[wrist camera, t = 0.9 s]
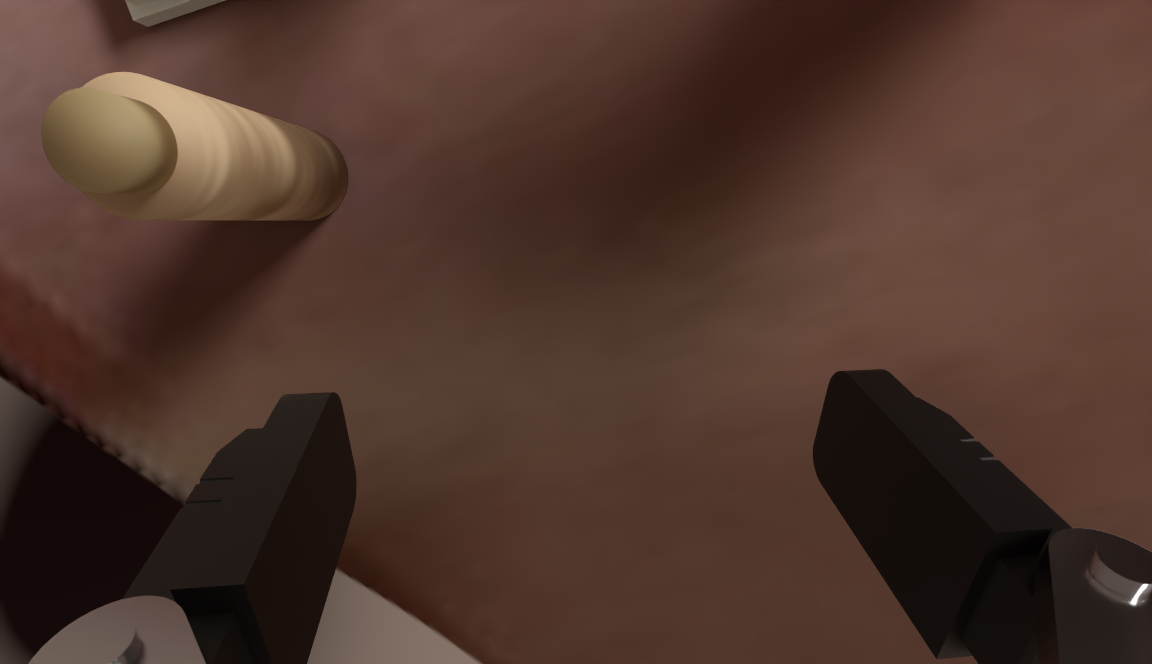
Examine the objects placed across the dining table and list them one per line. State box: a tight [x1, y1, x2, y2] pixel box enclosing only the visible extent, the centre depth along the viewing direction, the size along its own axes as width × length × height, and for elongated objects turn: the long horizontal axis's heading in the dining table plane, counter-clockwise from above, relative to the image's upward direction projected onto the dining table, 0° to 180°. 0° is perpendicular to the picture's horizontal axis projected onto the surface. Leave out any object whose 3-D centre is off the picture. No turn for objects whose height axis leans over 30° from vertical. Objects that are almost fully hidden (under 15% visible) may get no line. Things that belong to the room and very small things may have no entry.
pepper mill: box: [41, 72, 348, 221], centre depth 25 cm, size 5×5×14 cm
